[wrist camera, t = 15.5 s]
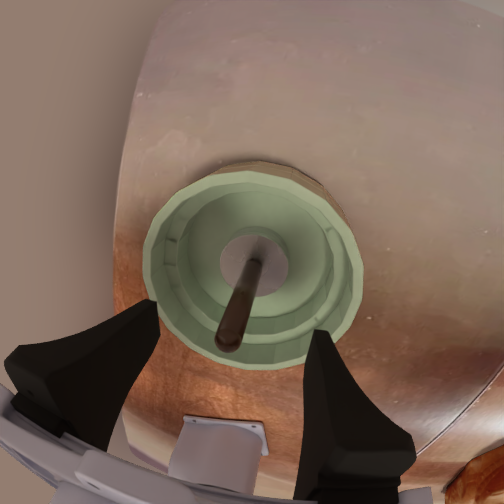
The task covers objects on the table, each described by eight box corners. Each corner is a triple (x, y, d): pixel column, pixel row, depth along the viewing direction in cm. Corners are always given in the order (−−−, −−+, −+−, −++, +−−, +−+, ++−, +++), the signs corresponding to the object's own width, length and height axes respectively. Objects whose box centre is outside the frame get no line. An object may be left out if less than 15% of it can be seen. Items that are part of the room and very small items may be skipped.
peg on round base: (263, 296, 21) (238, 395, 13) (213, 260, 21) (159, 345, 13) (303, 253, 20) (300, 347, 11) (249, 212, 19) (208, 283, 11)
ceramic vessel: (533, 422, 26) (555, 483, 12) (483, 480, 35) (492, 527, 22) (475, 447, 29) (492, 520, 15) (434, 497, 38) (439, 548, 25)
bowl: (194, 326, 25) (173, 365, 20) (158, 174, 20) (119, 190, 15) (349, 322, 22) (356, 367, 18) (346, 153, 17) (362, 161, 13)
